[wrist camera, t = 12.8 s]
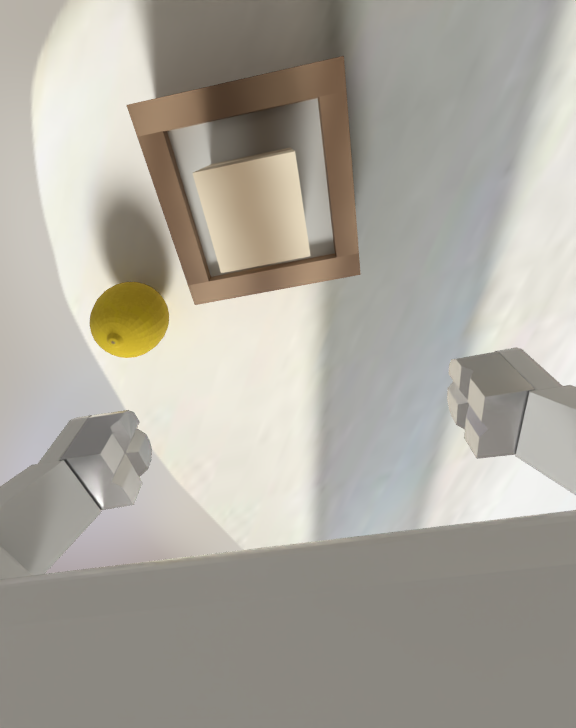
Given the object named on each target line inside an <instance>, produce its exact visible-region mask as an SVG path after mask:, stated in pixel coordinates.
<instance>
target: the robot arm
mask: <svg viewBox="0 0 576 728" xmlns="http://www.w3.org/2000/svg"><path fill="white" fill-rule="evenodd" d="M449 375H450V377H451V378H452V380H453V382H452V384H451V385H450V386H449V387H448V392H447V400H448V406H449V411H450V413H451V416H452V418H453V420H454V422H455V423H456V425H458V426H460V427H461V428H463V429H465V433H464V439H465V440H466V442H467V444H468V445H469V447H470V448H471V450H472V452H473V453H474V455H475V457H476V458H477V459H478V458H487V457H496V456H505V455H515V454H516V455H515V456H516V457H517V458H519V459H521V460H522V461H524V462H525V463H527V464H528V465H530V466H531V467H533V468H534V469H536V470H538V471H539V472H541V473H542V474H544V475H545V476H547V477H548V478H550V479H551V480H553V481H555V482H556V483H558V484H559V485H561V486H562V487H564V488H565V489H567V490H568V491H570V492H572V493H573V494H575V495H576V387H575V386H572V385H567V386H562V385H561V384H560V383H559V382H558V381H557V380H555V379H554V378H553V377H552V376H551V375H550V374H549V373H548V372H547V371H545V370H544V369H543V368H542V367H541V366H540V365H539V364H538V363H537V362H535V361H534V360H533V359H532V358H531V357H530V356H529V355H528V354H527V353H525V352H524V351H523V350H522V349H520V348H511V349H506V350H500V351H495V352H492V353H486V354H481V355H475V356H469V357H463V358H457V359H451V362H450V364H449ZM138 425H139V420H138V418H137V417H136V415H135V413H134V412H132V411H129V410H126V411H119V412H111V413H104V414H98V415H93V416H92V415H90V416H84V417H77V418H74V419H72V420H70V421H69V422H68V424H67V425H66V426H65V428H64V429H63V430H62V432H61V433H60V434H59V436H58V437H57V438H56V440H55V441H54V442H53V444H52V445H51V447H50V448H49V449H48V451H47V452H46V453H45V455H44V456H43V457H42V459H41V460H40V462H39V463H38V464H35V465H31V466H29V467H28V468H27V469H25V470H24V471H22V472H21V473H19V474H18V475H16V476H15V477H14V478H12V479H10V480H9V481H8V482H6V483H5V484H3V485H2V486H0V728H576V510H573V511H564V512H556V513H548V514H539V515H531V516H523V517H514V518H506V519H498V520H489V521H481V522H473V523H464V524H456V525H448V526H439V527H431V528H423V529H415V530H406V531H398V532H390V533H381V534H373V535H365V536H356V537H348V538H340V539H332V540H323V541H315V542H307V543H298V544H290V545H282V546H273V547H265V548H257V549H248V550H240V551H232V552H224V553H215V554H207V555H198V556H190V557H182V558H174V559H165V560H157V561H149V562H141V563H132V564H124V565H115V566H107V567H99V568H91V569H83V570H74V571H66V572H57V573H49V574H45V573H46V572H47V571H48V570H49V569H50V568H51V566H52V565H53V564H54V563H55V562H56V561H57V560H58V559H59V558H60V557H61V555H62V554H63V553H64V552H65V551H66V550H67V549H68V548H69V547H70V546H71V545H72V544H73V543H74V542H75V540H76V539H77V538H78V537H79V536H80V535H81V534H82V533H83V532H84V531H85V530H86V528H87V527H88V526H89V525H90V524H91V523H92V522H93V521H94V520H95V519H96V517H97V516H98V515H99V514H100V513H101V512H102V511H101V510H106V509H112V508H118V507H124V506H130V505H134V503H135V500H136V498H137V495H138V493H139V490H140V488H141V485H142V481H141V479H140V476H141V475H142V474H143V473H144V472H145V471H146V470H147V469H148V468H149V465H150V462H151V455H152V448H151V444H150V441H149V439H148V437H147V435H146V434H145V433H143V432H142V431H140V430H139V429H137V428H138Z"/></svg>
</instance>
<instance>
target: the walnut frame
mask: <svg viewBox="0 0 576 728" xmlns="http://www.w3.org/2000/svg"><path fill="white" fill-rule="evenodd" d="M127 108H128V111H129V114H130V117H131V120H132V122H133V125H134V128H135V131H136V134H137V137H138V140H139V143H140V146H141V149H142V152H143V155H144V158H145V161H146V163H147V166H148V169H149V172H150V175H151V178H152V181H153V184H154V187H155V190H156V193H157V196H158V199H159V201H160V204H161V207H162V210H163V213H164V216H165V219H166V222H167V225H168V228H169V231H170V234H171V237H172V240H173V242H174V245H175V248H176V251H177V254H178V257H179V260H180V263H181V266H182V269H183V272H184V275H185V278H186V281H187V283H188V286H189V289H190V292H191V295H192V298H193V301H194V304H195V305H198V304H203V303H209V302H214V301H219V300H225V299H230V298H236V297H241V296H247V295H252V294H257V293H263V292H268V291H274V290H279V289H285V288H290V287H295V286H301V285H306V284H312V283H317V282H323V281H328V280H333V279H339V278H344V277H350V276H355V275H360V263H359V250H358V237H357V224H356V211H355V198H354V185H353V171H352V158H351V145H350V132H349V119H348V106H347V93H346V80H345V67H344V56H341V57H337V58H332V59H328V60H324V61H319V62H315V63H310V64H306V65H301V66H297V67H293V68H288V69H284V70H279V71H275V72H271V73H266V74H262V75H257V76H253V77H248V78H244V79H240V80H235V81H231V82H226V83H222V84H218V85H213V86H209V87H204V88H200V89H196V90H191V91H187V92H182V93H178V94H173V95H169V96H165V97H160V98H156V99H151V100H147V101H143V102H138V103H134V104H129V105H127ZM290 147H291V148H292V149H293V150H294V151H295V154H296V161H297V167H298V174H299V181H300V188H301V195H302V201H303V208H304V215H305V222H306V228H307V235H308V242H309V249H310V256H309V257H304V258H299V259H294V260H288V261H283V262H278V263H272V264H267V265H262V266H257V267H251V268H246V269H241V270H236V271H230V272H225V273H221V271H220V268H219V264H218V261H217V257H216V254H215V250H214V247H213V243H212V240H211V236H210V233H209V229H208V226H207V222H206V219H205V215H204V212H203V208H202V205H201V201H200V198H199V194H198V191H197V187H196V184H195V180H194V177H193V172H195V171H198V170H200V169H202V168H204V167H206V166H208V165H210V164H214V163H219V162H224V161H229V160H233V159H238V158H243V157H247V156H252V155H257V154H262V153H266V152H271V151H276V150H281V149H285V148H290Z"/></svg>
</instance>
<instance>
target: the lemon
mask: <svg viewBox="0 0 576 728" xmlns="http://www.w3.org/2000/svg"><path fill="white" fill-rule="evenodd" d="M168 323H169V312H168V307H167V305H166V303H165V301H164V299H163V297H162V296H161V295H160V294H159V293H158V292H157V291H156V290H154V289H153V288H152V287H150V286H148V285H146V284H142V283H139V282H125V283H120V284H117V285H115V286H113V287H111V288H109V289H107V290H106V291H105V292H104V293H103V294H102V295H101V296H100V297H99V298H98V299H97V301H96V303H95V305H94V307H93V309H92V312H91V315H90V329H91V333H92V335H93V337H94V340H95V341H96V342H97V344H98V345H99V346H100V347H101V348H102V349H104V350H105V351H106V352H108V353H110V354H112V355H115V356H118V357H125V358H130V357H137V356H140V355H143V354H145V353H147V352H148V351H150V350H151V349H153V348H154V347H155V346H156V345H157V344H158V343H159V342H160V341H161V339H162V338H163V337H164V335H165V333H166V330H167V328H168Z"/></svg>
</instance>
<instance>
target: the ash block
mask: <svg viewBox="0 0 576 728" xmlns="http://www.w3.org/2000/svg"><path fill="white" fill-rule="evenodd" d="M193 177H194V180H195V184H196V187H197V191H198V194H199V198H200V201H201V205H202V208H203V212H204V215H205V219H206V222H207V226H208V229H209V233H210V236H211V240H212V243H213V247H214V250H215V254H216V257H217V261H218V264H219V268H220V271H221V273H225V272H230V271H236V270H241V269H246V268H251V267H257V266H262V265H267V264H272V263H278V262H283V261H288V260H294V259H299V258H304V257H309V256H310V249H309V242H308V235H307V228H306V222H305V215H304V208H303V201H302V195H301V188H300V181H299V174H298V167H297V161H296V154H295V151H294V150H293V149H292V148H291V147H290V148H285V149H281V150H276V151H271V152H266V153H262V154H257V155H252V156H247V157H243V158H238V159H233V160H229V161H224V162H219V163H214V164H210V165H208V166H206V167H204V168H202V169H200V170H198V171H195V172H193Z"/></svg>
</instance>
